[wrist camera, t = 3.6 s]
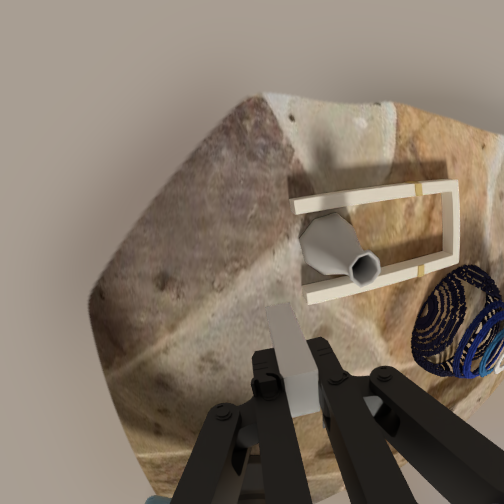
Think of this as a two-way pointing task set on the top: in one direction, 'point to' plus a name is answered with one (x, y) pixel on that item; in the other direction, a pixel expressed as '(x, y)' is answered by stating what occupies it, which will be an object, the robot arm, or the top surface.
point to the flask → (338, 250)
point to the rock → (502, 324)
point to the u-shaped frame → (399, 270)
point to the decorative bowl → (486, 325)
